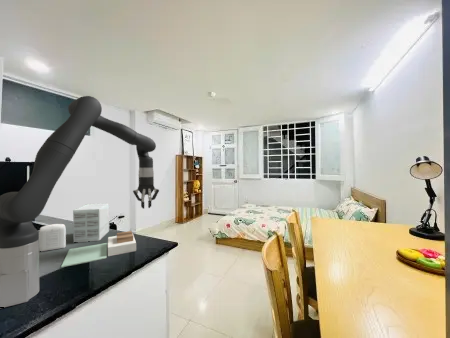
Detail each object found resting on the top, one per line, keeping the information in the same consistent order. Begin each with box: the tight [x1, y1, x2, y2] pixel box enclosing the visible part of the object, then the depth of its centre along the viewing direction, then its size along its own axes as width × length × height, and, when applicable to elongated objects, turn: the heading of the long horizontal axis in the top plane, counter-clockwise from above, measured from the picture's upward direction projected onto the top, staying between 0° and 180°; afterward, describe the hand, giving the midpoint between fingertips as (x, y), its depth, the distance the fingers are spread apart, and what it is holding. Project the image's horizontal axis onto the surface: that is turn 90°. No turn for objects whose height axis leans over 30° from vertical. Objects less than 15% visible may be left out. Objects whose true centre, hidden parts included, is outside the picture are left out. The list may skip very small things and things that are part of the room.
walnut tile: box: [116, 230, 134, 244], centre depth 102 cm, size 9×7×2 cm
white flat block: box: [107, 232, 137, 257], centre depth 101 cm, size 16×12×4 cm
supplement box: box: [72, 203, 110, 243], centre depth 117 cm, size 17×13×18 cm
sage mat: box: [60, 242, 108, 268], centre depth 94 cm, size 20×16×1 cm
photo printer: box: [38, 223, 67, 252], centre depth 100 cm, size 10×4×12 cm, turn 123°
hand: (146, 207), depth 107 cm, fingers open, 2 cm apart
